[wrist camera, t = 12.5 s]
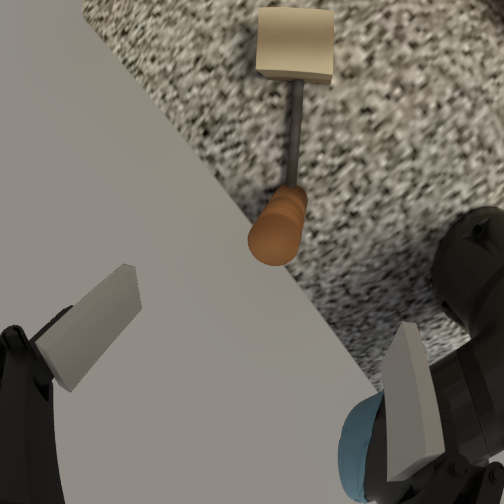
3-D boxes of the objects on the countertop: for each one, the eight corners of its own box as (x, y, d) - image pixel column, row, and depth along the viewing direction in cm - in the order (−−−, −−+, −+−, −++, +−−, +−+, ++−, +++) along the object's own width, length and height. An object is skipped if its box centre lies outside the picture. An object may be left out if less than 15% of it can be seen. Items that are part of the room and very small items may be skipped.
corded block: (316, 220, 29) (312, 272, 20) (261, 212, 30) (230, 259, 21) (332, 32, 20) (335, -15, 11) (271, 28, 21) (242, -17, 12)
